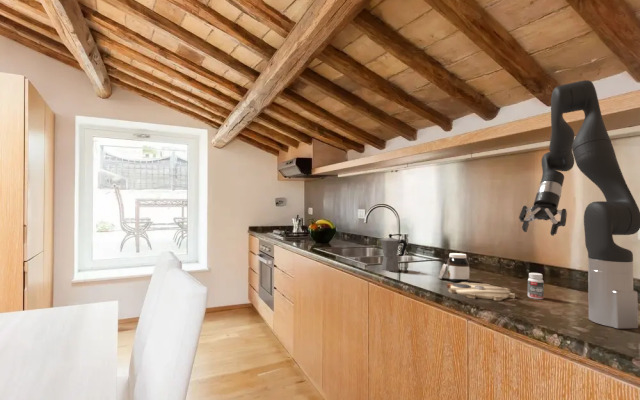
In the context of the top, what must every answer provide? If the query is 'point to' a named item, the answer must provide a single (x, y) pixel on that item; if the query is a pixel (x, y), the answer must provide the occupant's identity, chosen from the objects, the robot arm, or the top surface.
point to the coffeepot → (391, 253)
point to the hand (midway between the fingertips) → (538, 232)
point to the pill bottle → (535, 286)
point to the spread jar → (456, 268)
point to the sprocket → (480, 291)
